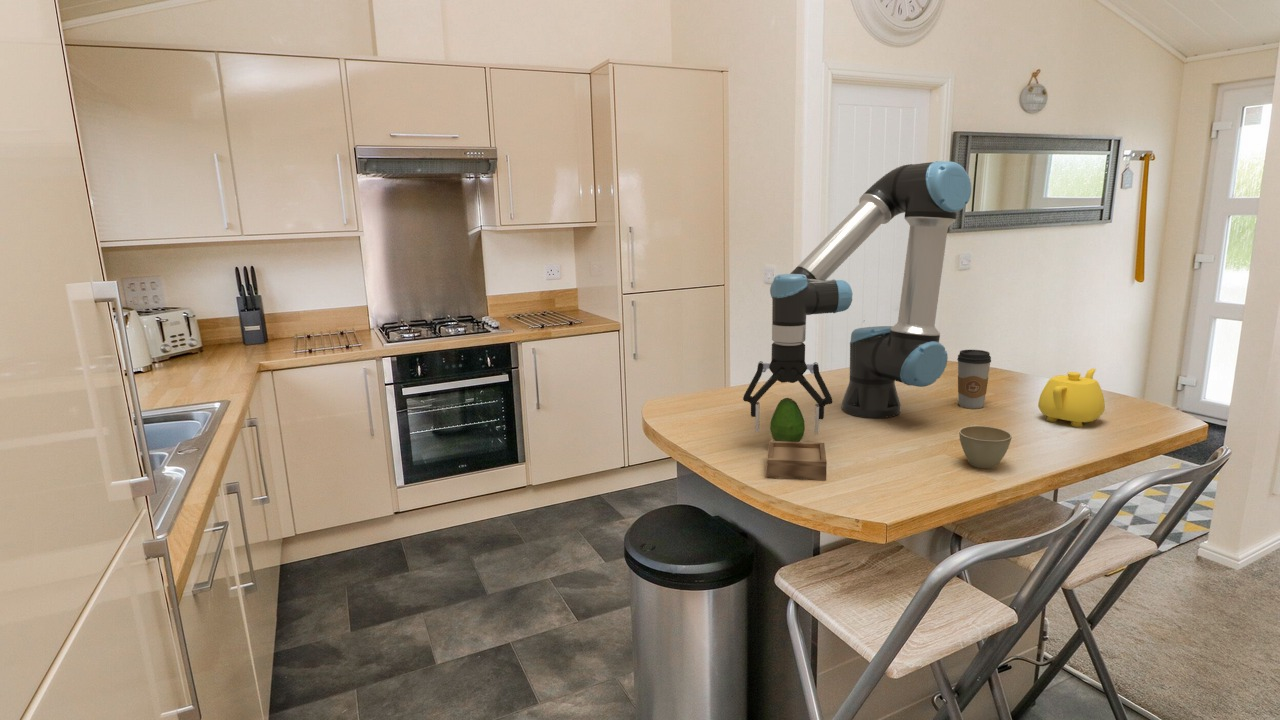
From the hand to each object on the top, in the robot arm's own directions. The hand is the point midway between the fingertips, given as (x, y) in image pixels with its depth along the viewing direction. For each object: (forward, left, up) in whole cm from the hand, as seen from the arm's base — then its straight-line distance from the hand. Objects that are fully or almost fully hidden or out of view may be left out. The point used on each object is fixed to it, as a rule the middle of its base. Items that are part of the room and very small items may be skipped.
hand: (786, 431), depth 164 cm
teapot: (-70, -28, -4) cm, 76 cm away
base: (-2, +14, -4) cm, 15 cm away
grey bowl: (-41, +7, -4) cm, 42 cm away
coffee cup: (-49, -39, -4) cm, 63 cm away
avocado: (0, 0, -4) cm, 4 cm away
